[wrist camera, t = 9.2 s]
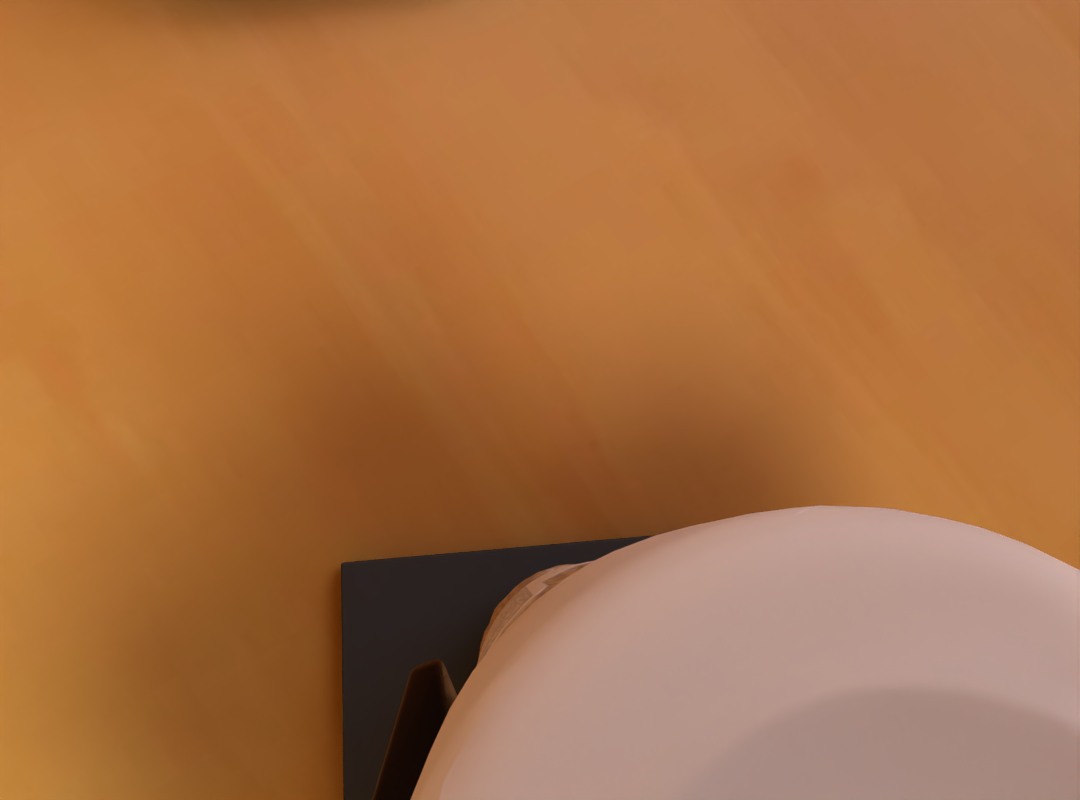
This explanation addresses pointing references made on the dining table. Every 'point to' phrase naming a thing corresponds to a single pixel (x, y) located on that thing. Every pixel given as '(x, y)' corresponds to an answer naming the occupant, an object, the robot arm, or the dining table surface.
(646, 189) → the dining table surface
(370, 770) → the mat
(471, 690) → the sprinkles bottle
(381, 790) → the robot arm
